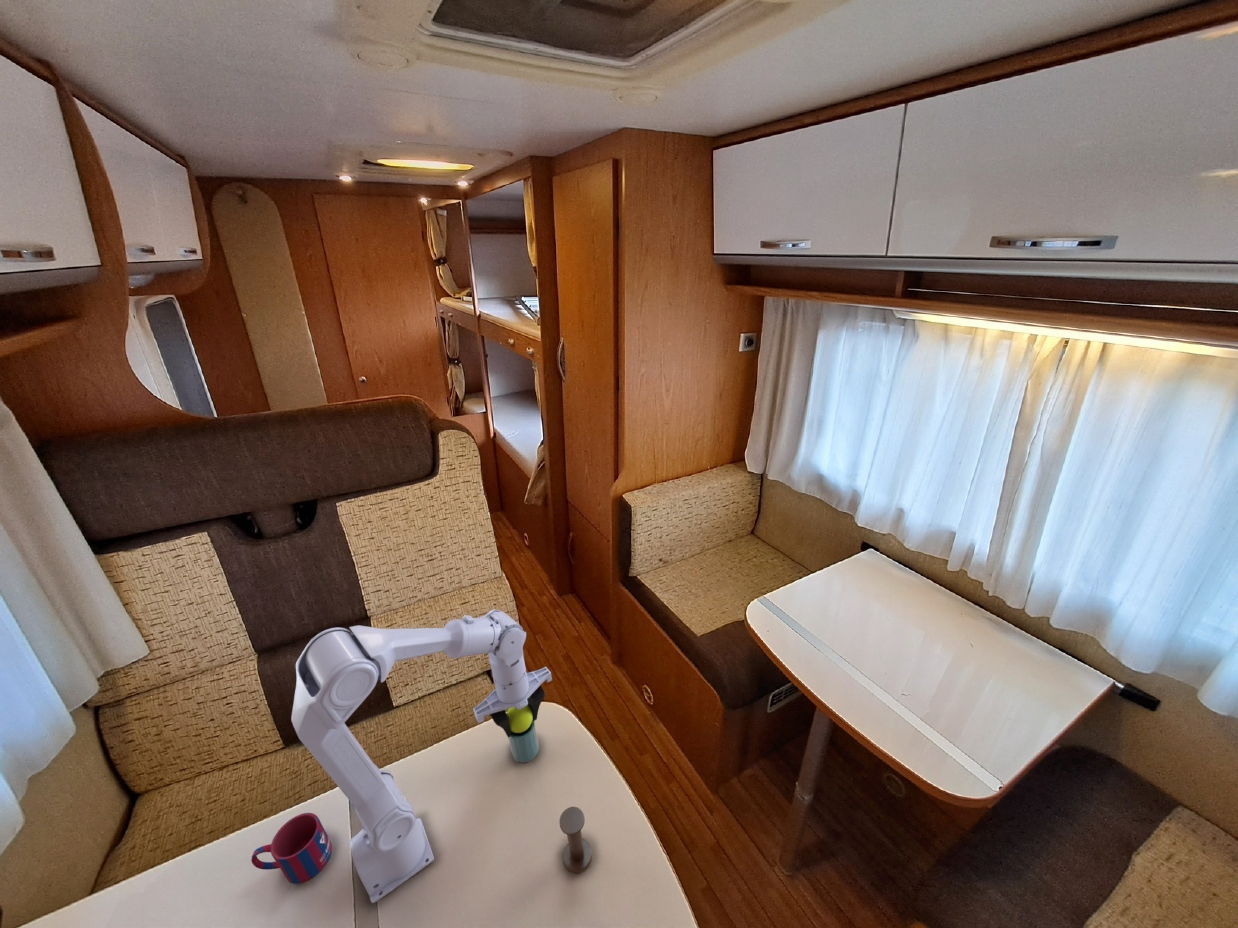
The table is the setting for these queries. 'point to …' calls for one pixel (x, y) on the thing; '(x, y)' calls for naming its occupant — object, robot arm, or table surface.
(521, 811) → the table surface
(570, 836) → the stand
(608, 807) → the table surface
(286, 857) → the cup
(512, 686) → the robot arm
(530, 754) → the tumbler
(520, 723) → the ball
